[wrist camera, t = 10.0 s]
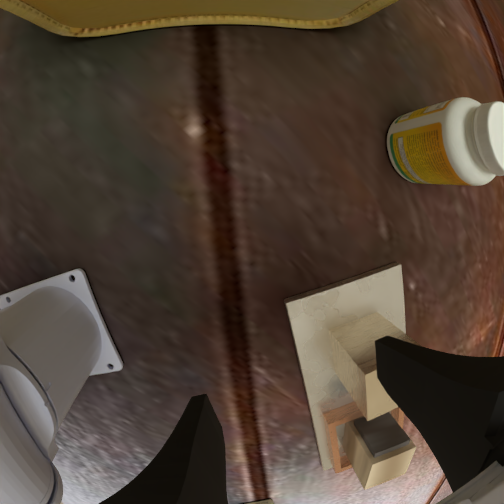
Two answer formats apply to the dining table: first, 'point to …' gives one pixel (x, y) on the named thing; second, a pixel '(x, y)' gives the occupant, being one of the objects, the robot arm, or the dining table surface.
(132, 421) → the dining table surface
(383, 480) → the block
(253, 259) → the dining table surface
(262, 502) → the skincare box
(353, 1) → the picnic basket
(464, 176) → the supplement bottle
